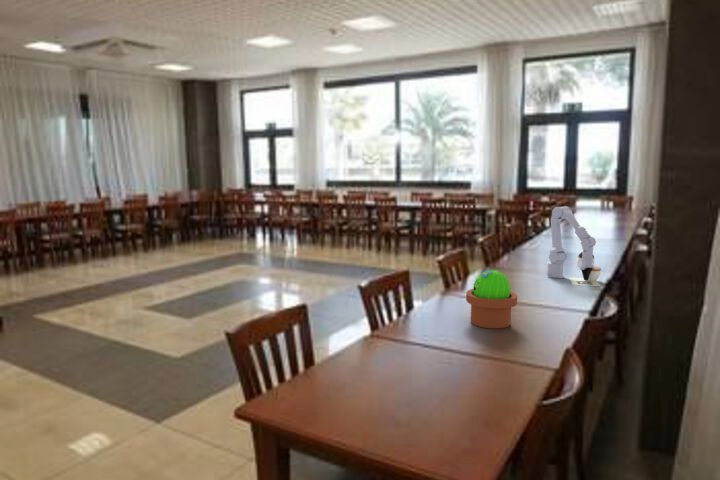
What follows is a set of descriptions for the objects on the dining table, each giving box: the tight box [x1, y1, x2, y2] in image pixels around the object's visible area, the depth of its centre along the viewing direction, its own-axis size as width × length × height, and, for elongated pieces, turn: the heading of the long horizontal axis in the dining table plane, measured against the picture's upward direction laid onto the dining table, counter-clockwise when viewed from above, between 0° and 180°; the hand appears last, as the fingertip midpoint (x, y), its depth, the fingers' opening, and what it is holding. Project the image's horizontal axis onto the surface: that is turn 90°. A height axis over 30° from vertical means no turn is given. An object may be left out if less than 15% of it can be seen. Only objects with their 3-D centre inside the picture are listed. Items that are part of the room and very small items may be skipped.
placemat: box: [568, 277, 602, 287], centre depth 317 cm, size 15×19×1 cm
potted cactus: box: [465, 268, 518, 330], centre depth 237 cm, size 22×22×25 cm
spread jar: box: [576, 249, 595, 269], centre depth 358 cm, size 12×11×12 cm
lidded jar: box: [581, 265, 602, 281], centre depth 320 cm, size 11×11×9 cm
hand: (585, 279), depth 315 cm, fingers closed
